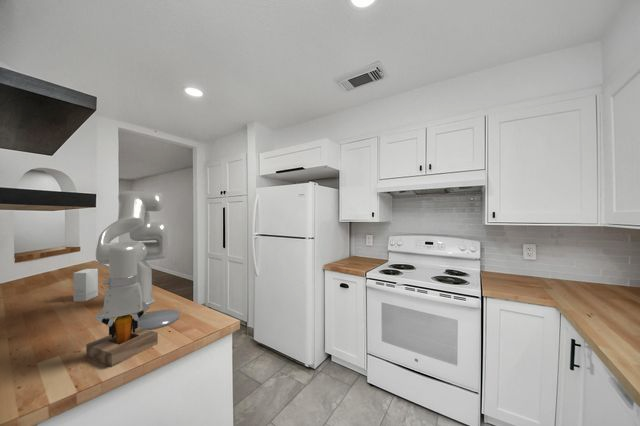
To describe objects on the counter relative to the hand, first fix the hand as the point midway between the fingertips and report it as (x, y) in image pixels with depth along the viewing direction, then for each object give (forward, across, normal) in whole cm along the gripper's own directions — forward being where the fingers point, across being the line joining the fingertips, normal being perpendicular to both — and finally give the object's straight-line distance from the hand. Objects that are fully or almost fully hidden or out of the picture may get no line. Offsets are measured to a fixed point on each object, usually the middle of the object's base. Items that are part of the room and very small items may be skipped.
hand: (123, 332), depth 83 cm
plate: (+6, +10, +20) cm, 23 cm away
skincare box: (+7, -18, +74) cm, 76 cm away
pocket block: (+6, 0, 0) cm, 6 cm away
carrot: (+6, 0, 0) cm, 6 cm away
